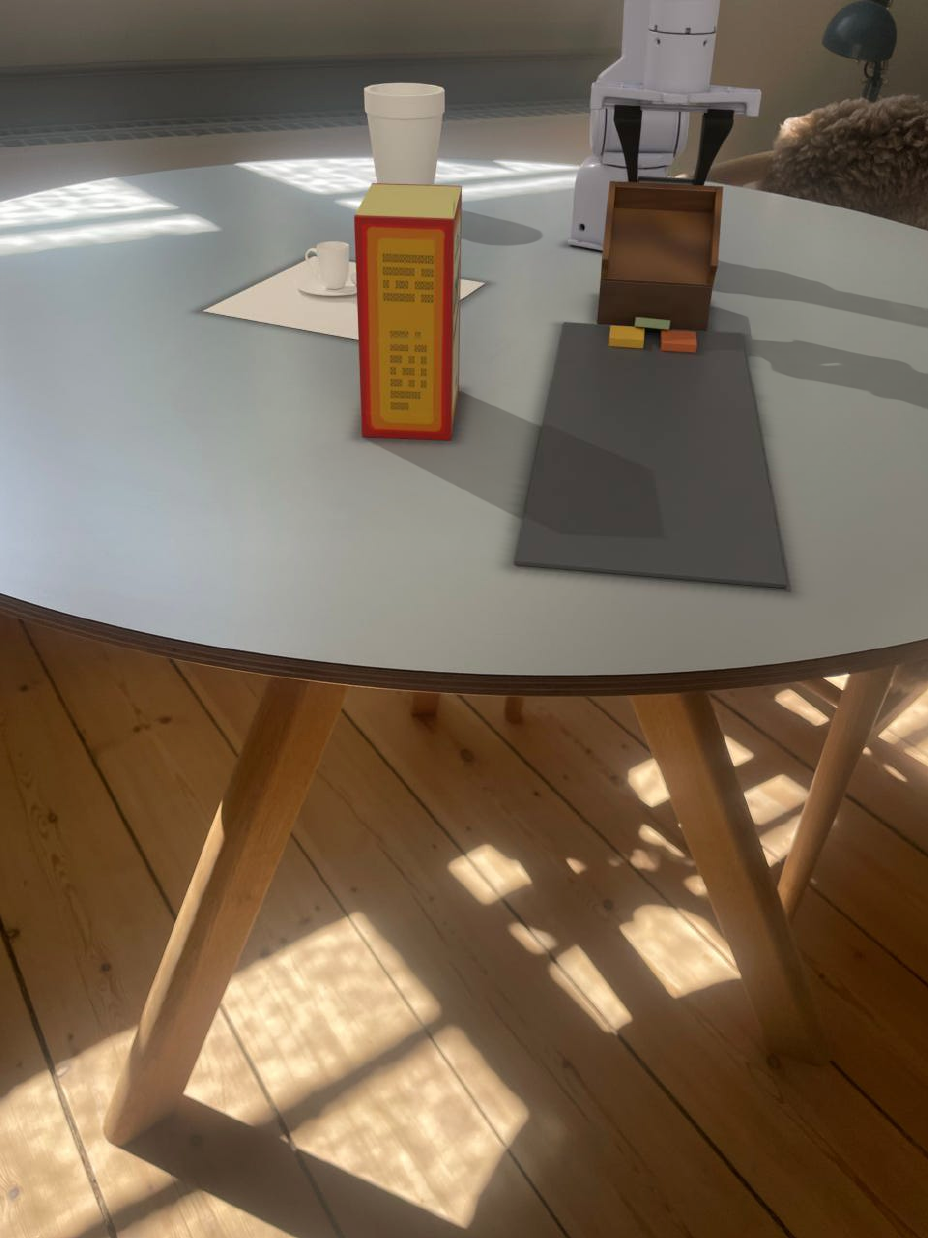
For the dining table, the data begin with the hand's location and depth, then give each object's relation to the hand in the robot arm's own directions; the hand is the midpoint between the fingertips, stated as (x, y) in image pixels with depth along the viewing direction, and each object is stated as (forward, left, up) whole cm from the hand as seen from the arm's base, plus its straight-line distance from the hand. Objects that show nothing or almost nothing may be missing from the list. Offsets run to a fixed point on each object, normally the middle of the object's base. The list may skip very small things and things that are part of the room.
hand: (663, 197), depth 102 cm
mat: (+12, -26, -10) cm, 30 cm away
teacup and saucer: (-25, -15, -10) cm, 31 cm away
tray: (+1, -2, -3) cm, 4 cm away
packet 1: (+3, -11, -9) cm, 14 cm away
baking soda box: (-4, -34, -10) cm, 36 cm away
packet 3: (+4, -8, -9) cm, 13 cm away
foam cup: (-41, +17, -10) cm, 46 cm away
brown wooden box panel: (+1, -2, -10) cm, 10 cm away
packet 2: (+7, -10, -9) cm, 15 cm away
